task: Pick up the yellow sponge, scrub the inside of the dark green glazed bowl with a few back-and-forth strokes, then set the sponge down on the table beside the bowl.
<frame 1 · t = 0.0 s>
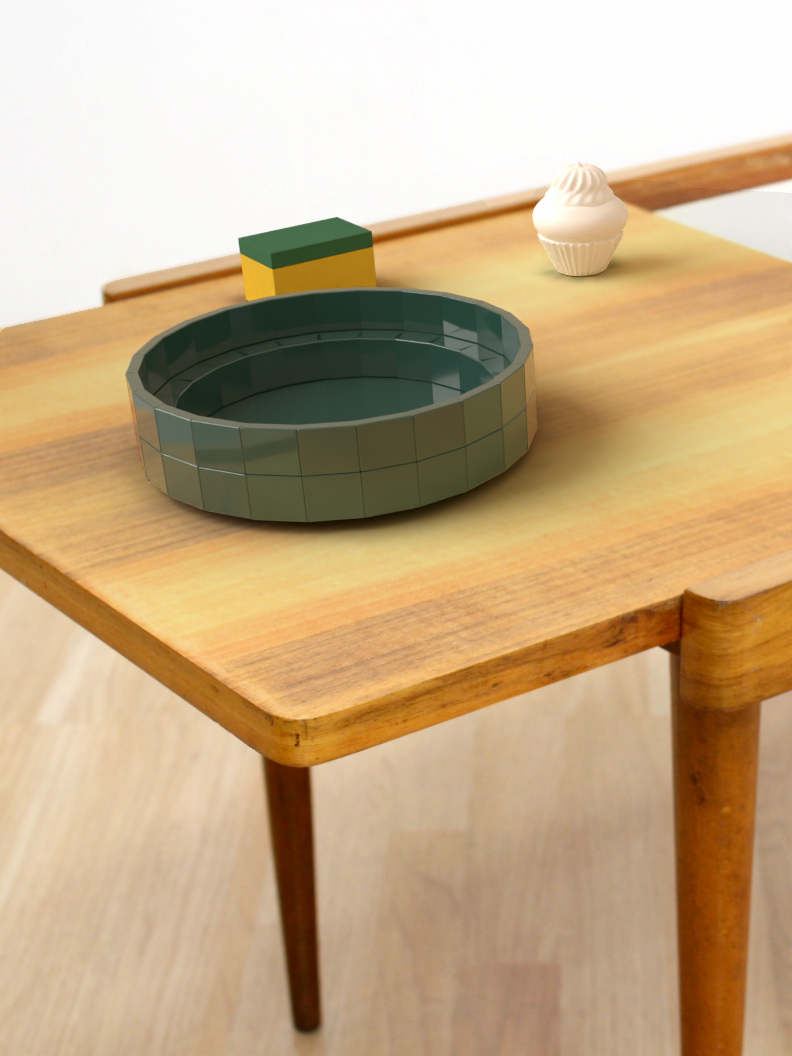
muffin: (581, 272, 101), on the table
sponge: (311, 296, 98), on the table
bowl: (341, 445, 76), on the table
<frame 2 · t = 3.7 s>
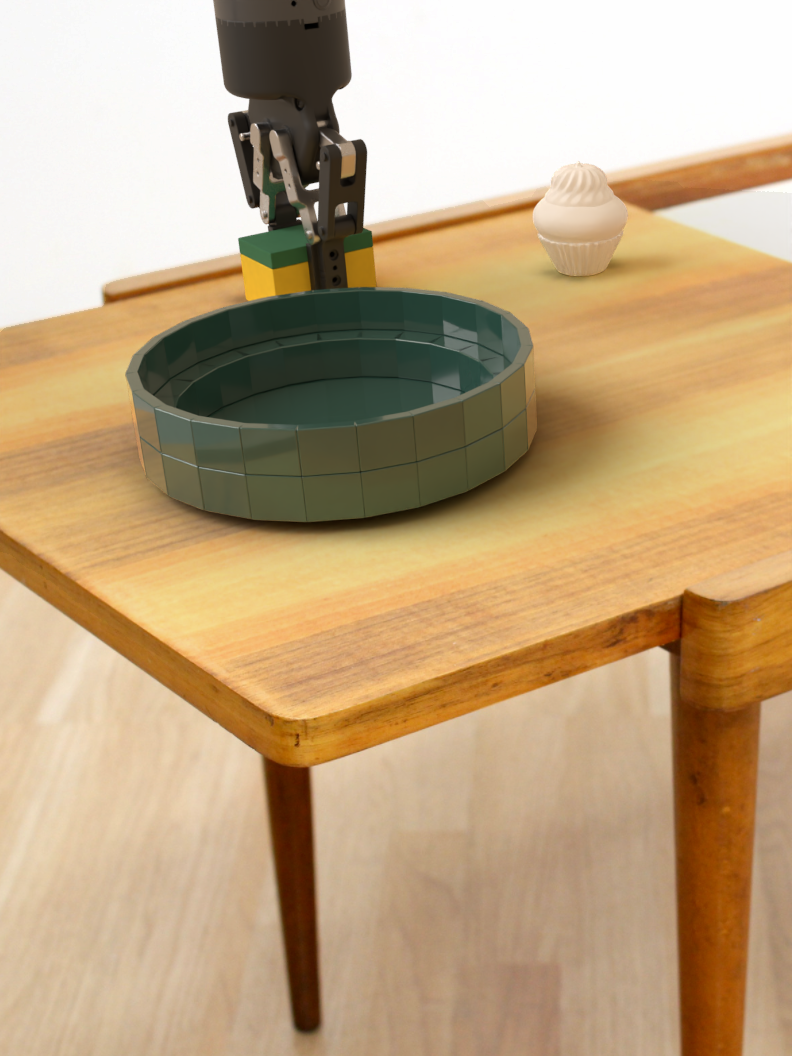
hand: (311, 288, 97), 1 cm above the table, tool pointing down, fingers closed on sponge, 4 cm apart
sponge: (311, 296, 98), on the table, touching gripper
everything else where it was.
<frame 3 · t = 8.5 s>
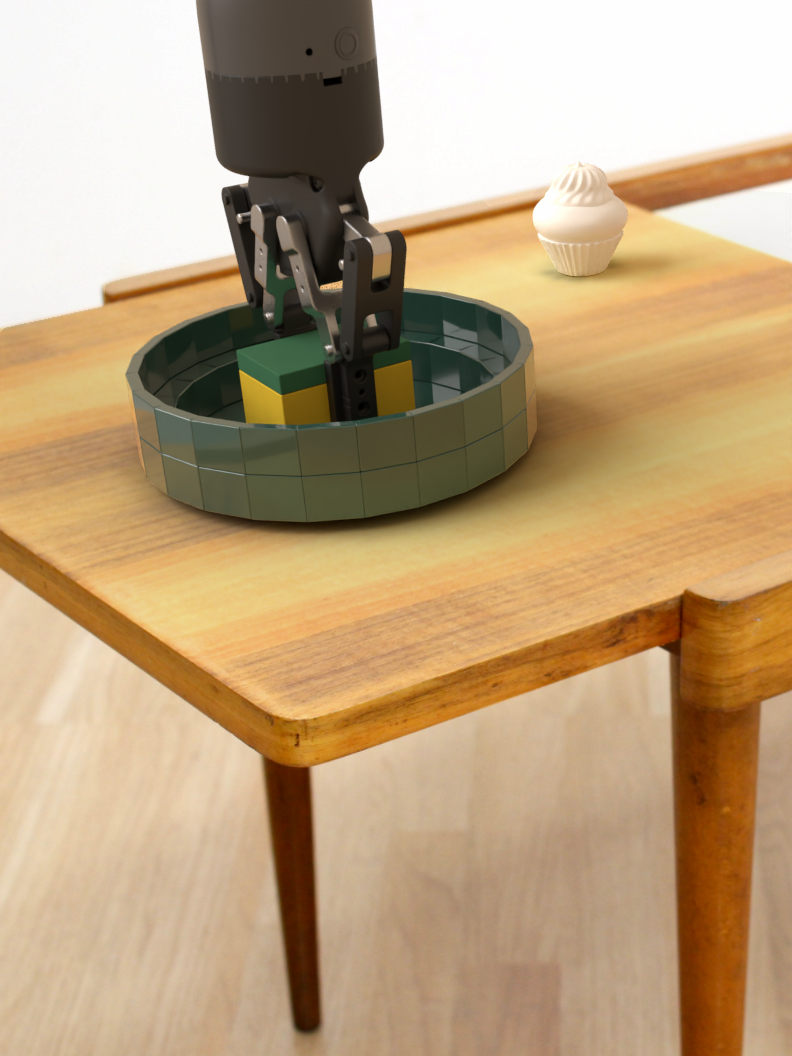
hand: (329, 412, 75), 2 cm above the table, tool pointing down, fingers closed on sponge, 4 cm apart
sponge: (331, 422, 76), point 1 cm above the table, touching gripper
everything else where it was.
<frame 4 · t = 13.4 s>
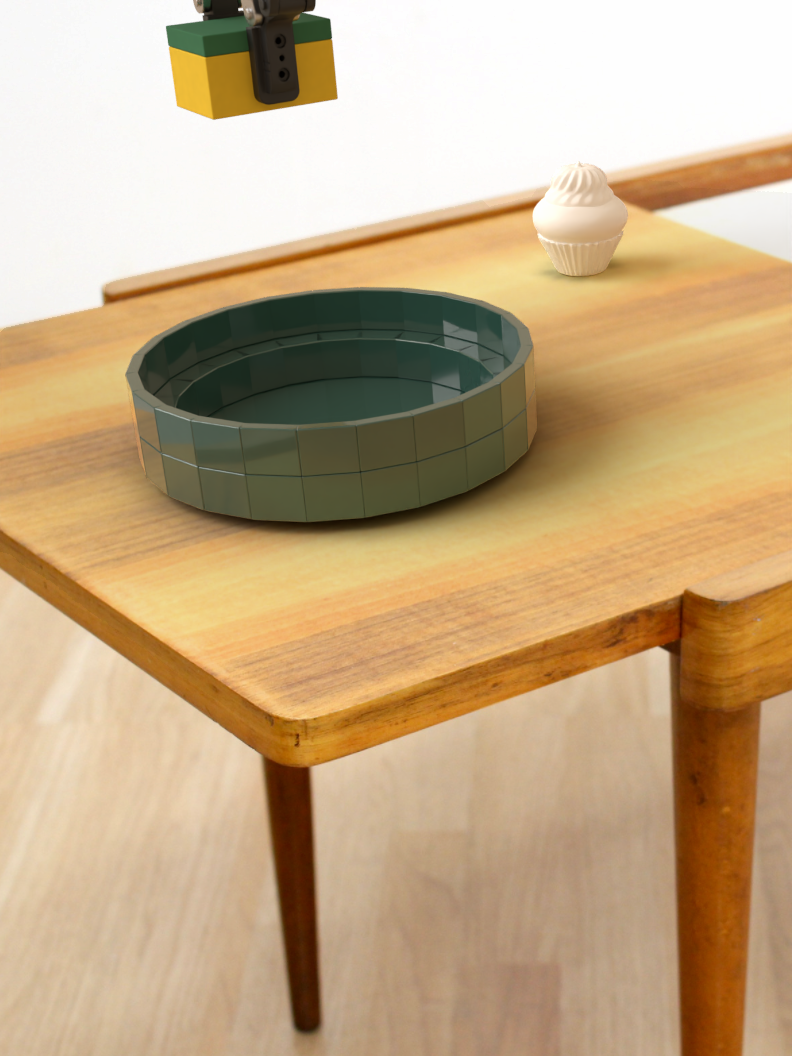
hand: (255, 92, 79), 15 cm above the table, tool pointing down, fingers closed on sponge, 4 cm apart
sponge: (257, 103, 80), point 15 cm above the table, touching gripper
everything else where it was.
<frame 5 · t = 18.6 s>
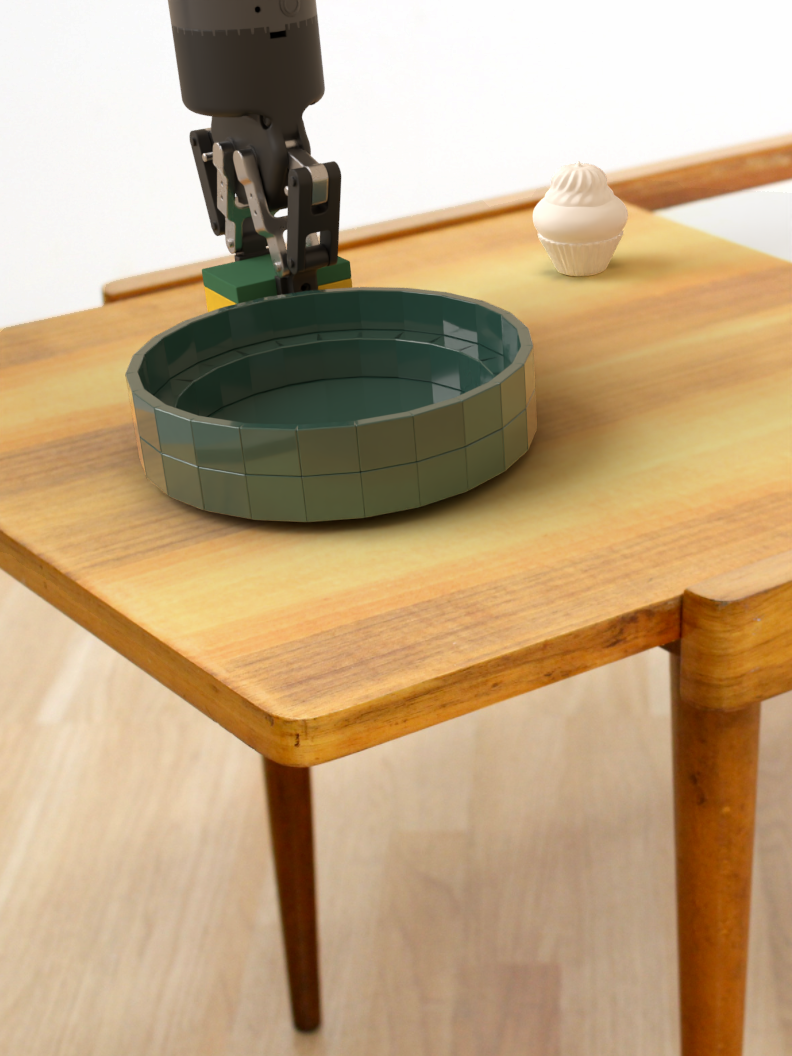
hand: (282, 324, 88), 2 cm above the table, tool pointing down, fingers closed on sponge, 4 cm apart
sponge: (284, 332, 88), point 1 cm above the table, touching gripper
everything else where it was.
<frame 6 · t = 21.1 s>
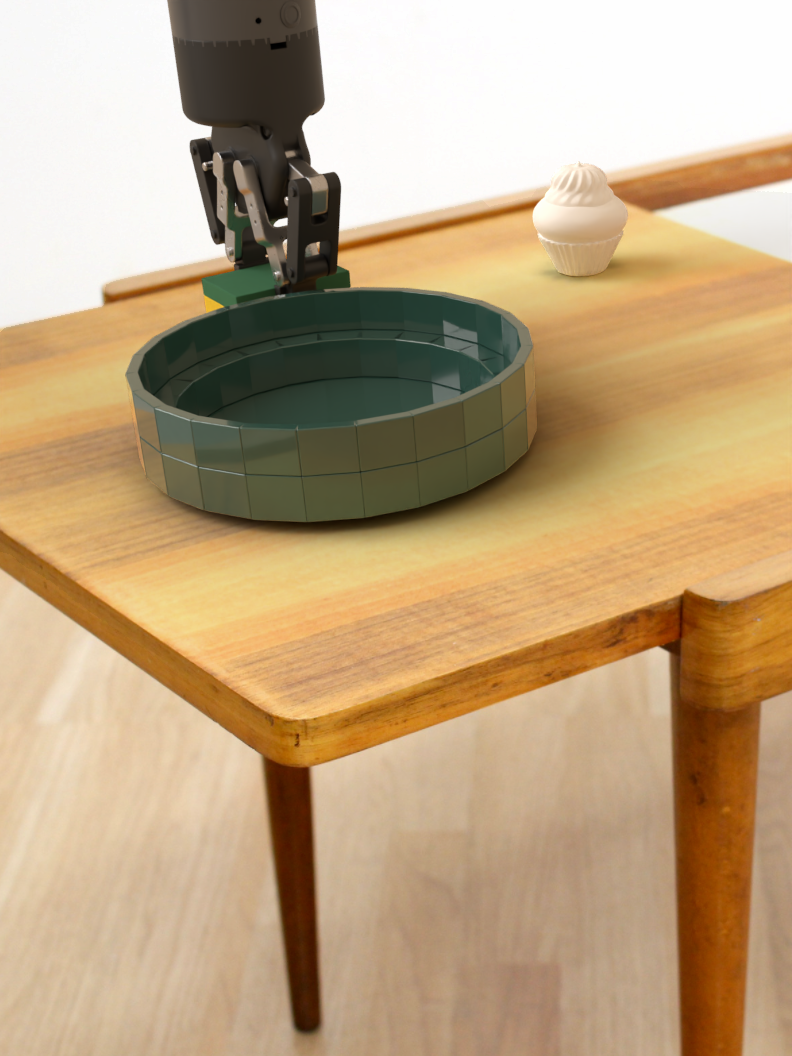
hand: (281, 333, 88), 1 cm above the table, tool pointing down, fingers closed on sponge, 4 cm apart
sponge: (283, 341, 89), point 1 cm above the table, touching gripper
everything else where it was.
when the fingers open (2 cm above the table, at t = 23.4 s): sponge drops 1 cm, on the table.
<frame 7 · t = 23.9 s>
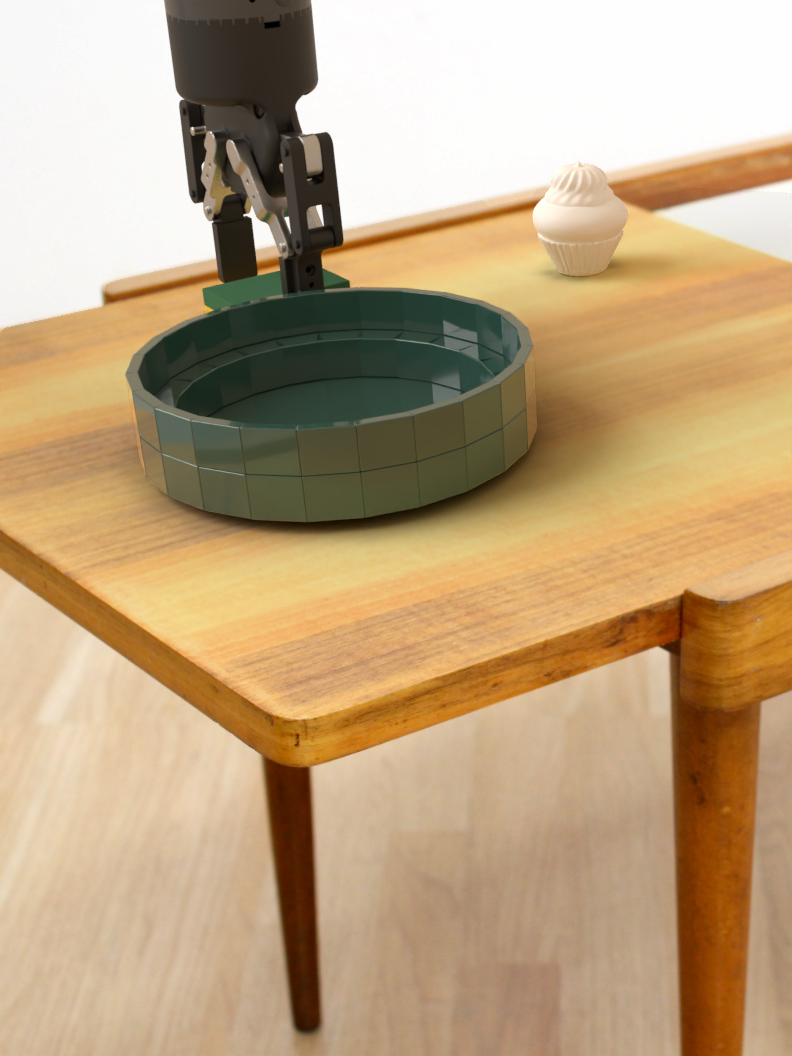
hand: (271, 300, 88), 3 cm above the table, tool pointing down, fingers open, 8 cm apart
sponge: (284, 351, 89), on the table
everything else where it was.
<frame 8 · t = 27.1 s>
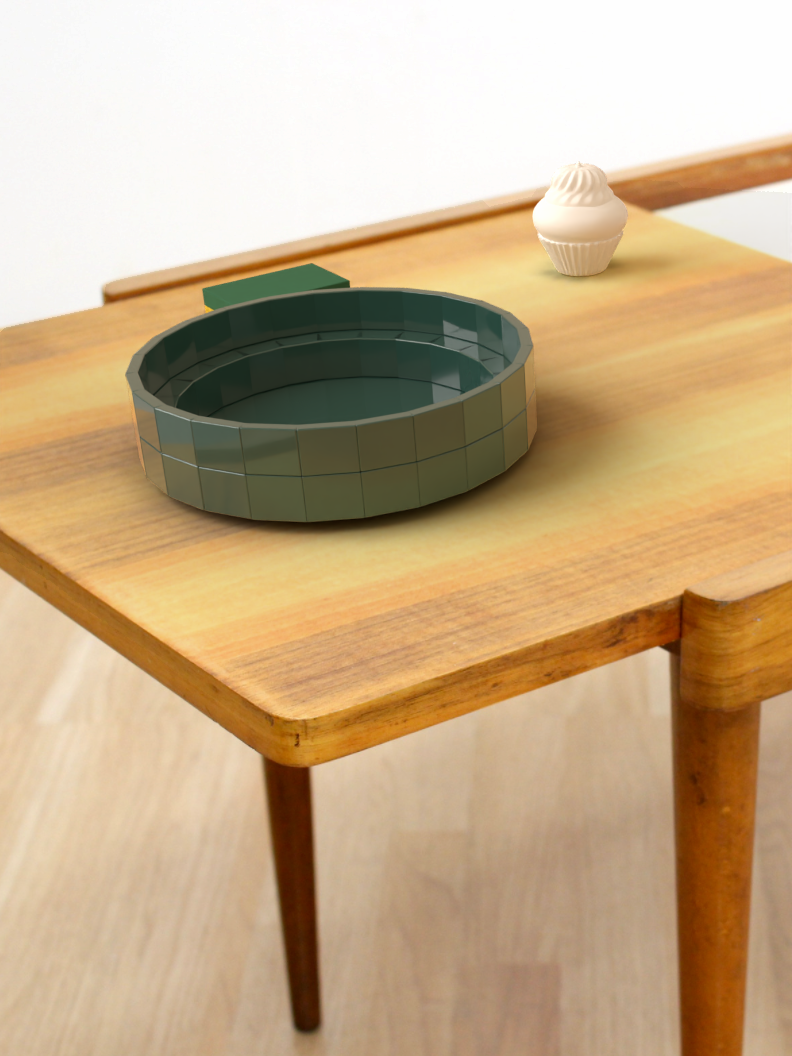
nothing on the table moved.
at the end: sponge inside the target area on the table beside the bowl (0.3 cm from its centre), on the table; sponge tilted 0°; the gripper is holding nothing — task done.
